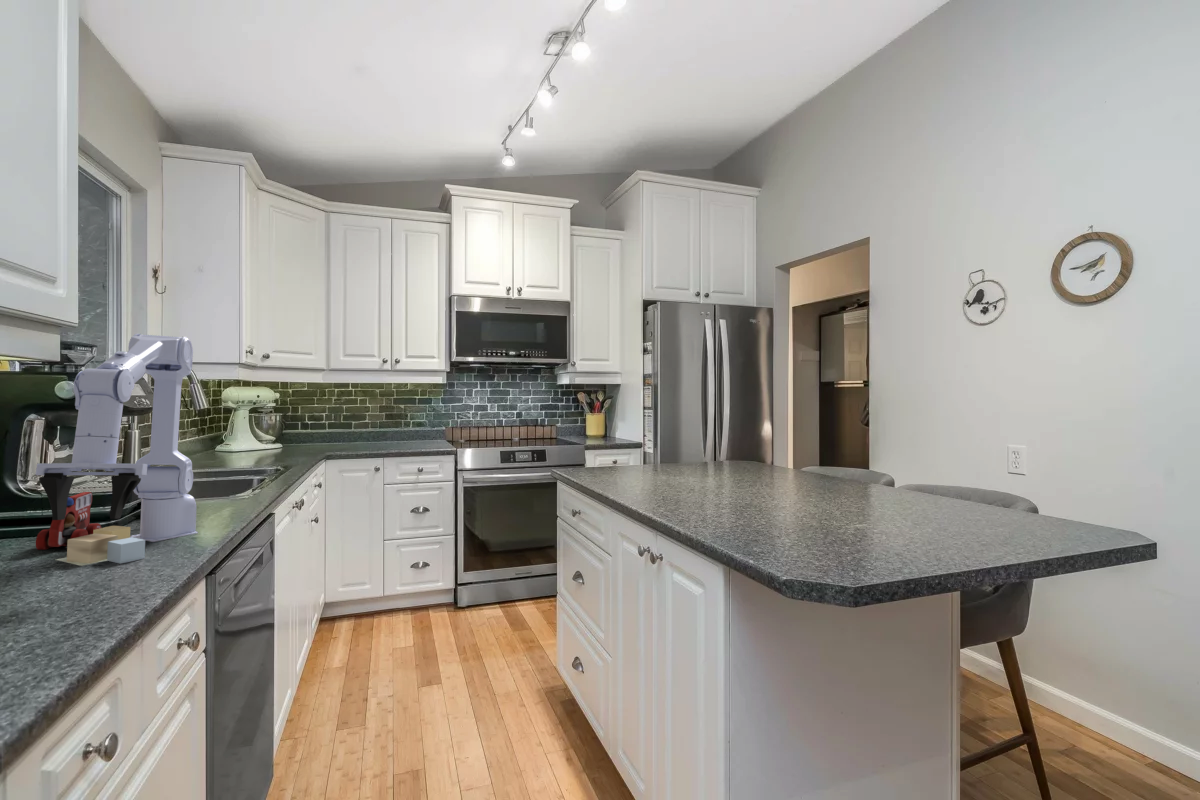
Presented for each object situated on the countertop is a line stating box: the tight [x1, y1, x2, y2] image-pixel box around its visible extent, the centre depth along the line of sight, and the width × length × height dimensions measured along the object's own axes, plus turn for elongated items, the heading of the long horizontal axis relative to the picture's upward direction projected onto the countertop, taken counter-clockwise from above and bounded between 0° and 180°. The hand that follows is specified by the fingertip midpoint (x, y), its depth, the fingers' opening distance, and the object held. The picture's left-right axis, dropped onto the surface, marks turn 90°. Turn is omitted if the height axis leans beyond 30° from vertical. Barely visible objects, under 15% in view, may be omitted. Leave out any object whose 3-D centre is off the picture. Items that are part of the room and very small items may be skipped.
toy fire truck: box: [35, 491, 102, 551], centre depth 117 cm, size 7×12×10 cm, turn 18°
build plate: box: [55, 556, 108, 567], centre depth 110 cm, size 10×8×1 cm
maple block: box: [66, 533, 118, 565], centre depth 108 cm, size 5×5×4 cm
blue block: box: [106, 537, 146, 564], centre depth 109 cm, size 4×4×4 cm
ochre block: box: [93, 525, 132, 540], centre depth 115 cm, size 4×4×4 cm
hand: (87, 519), depth 96 cm, fingers open, 7 cm apart
